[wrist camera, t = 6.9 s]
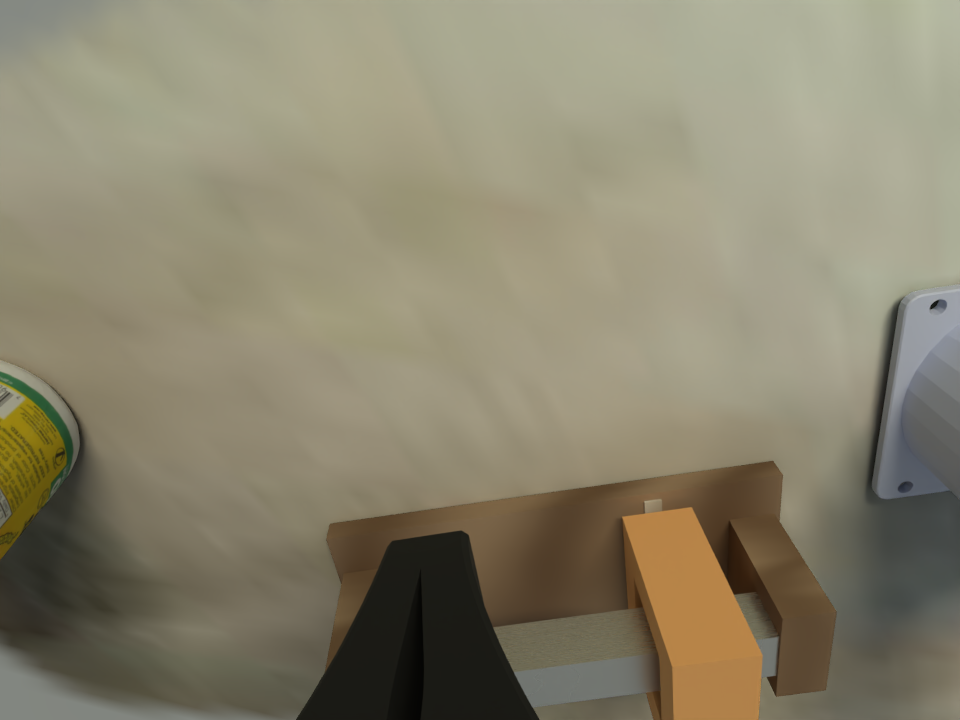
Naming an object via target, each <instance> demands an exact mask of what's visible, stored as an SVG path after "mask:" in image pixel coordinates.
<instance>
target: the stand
mask: <svg viewBox="0 0 960 720" xmlns="http://www.w3.org/2000/svg"><path fill="white" fill-rule="evenodd" d="M782 480H783V474H782V473H781V472H780V470H779V469H778V467H777V466H776V464H775V463H774V462H773V461H770V462H763V463H756V464H749V465H742V466H735V467H728V468H721V469H714V470H707V471H700V472H692V473H685V474H678V475H671V476H664V477H657V478H650V479H643V480H636V481H629V482H622V483H615V484H608V485H601V486H594V487H587V488H580V489H573V490H565V491H558V492H551V493H544V494H537V495H530V496H523V497H516V498H509V499H502V500H495V501H488V502H481V503H474V504H467V505H460V506H453V507H446V508H438V509H431V510H424V511H417V512H410V513H403V514H396V515H389V516H382V517H375V518H368V519H361V520H354V521H347V522H340V523H333V524H330V526H329V530H328V534H327V539H326V540H327V543H328V546H329V549H330V552H331V555H332V558H333V560H334V563H335V566H336V569H337V572H338V575H339V578H340V581H341V584H342V585H341V590H340V595H339V600H338V606H337V611H336V616H335V621H334V627H333V632H332V637H331V642H330V648H329V653H328V658H327V664H326V669H325V672H326V670H327V668H328V666H329V665H330V663H331V661H332V660H333V658H334V656H335V654H336V653H337V651H338V649H339V647H340V645H341V644H342V642H343V640H344V638H345V636H346V634H347V632H348V630H349V628H350V626H351V624H352V622H353V620H354V618H355V617H356V615H357V613H358V611H359V609H360V607H361V605H362V603H363V600H364V598H365V596H366V594H367V592H368V590H369V588H370V586H371V583H372V581H373V579H374V577H375V575H376V572H377V570H378V568H379V565H380V563H381V561H382V558H383V556H384V553H385V551H386V549H387V546H388V545H389V544H390V543H391V542H392V541H394V540H401V539H407V538H414V537H420V536H427V535H434V534H440V533H447V532H453V531H460V530H462V531H463V532H465V533H467V534H468V535H469V538H470V543H471V547H472V552H473V556H474V561H475V565H476V570H477V574H478V579H479V583H480V588H481V592H482V597H483V601H484V606H485V608H486V611H487V613H488V616H489V618H490V621H491V623H492V626H493V627H500V626H507V625H515V624H522V623H529V622H537V621H544V620H552V619H559V618H566V617H574V616H581V615H589V614H596V613H604V612H611V611H618V610H626V609H628V598H627V582H626V567H625V552H624V537H623V521H622V517H624V516H632V515H639V514H646V513H653V512H660V511H667V510H674V509H682V508H689V507H692V509H693V511H694V513H695V515H696V517H697V519H698V521H699V523H700V525H701V527H702V529H703V532H704V534H705V536H706V538H707V540H708V542H709V544H710V546H711V548H712V550H713V552H714V555H715V557H716V559H717V561H718V563H719V565H720V567H721V569H722V571H723V573H724V575H725V577H726V580H727V582H728V584H729V586H730V588H731V590H732V592H733V594H734V595H737V594H744V593H752V592H756V593H757V594H758V596H759V598H760V600H761V602H762V604H763V606H764V608H765V610H766V612H767V614H768V616H769V618H770V620H771V621H772V623H773V625H774V627H775V629H776V631H777V633H778V635H779V649H778V661H777V673H776V676H770V677H767V678H768V681H769V683H770V685H771V687H772V689H773V691H774V693H775V695H776V697H777V696H785V695H793V694H800V693H808V692H816V691H824V690H826V686H827V678H828V671H829V664H830V657H831V649H832V642H833V635H834V627H835V620H836V613H837V612H836V610H835V608H834V607H833V605H832V604H831V602H830V601H829V599H828V597H827V596H826V594H825V593H824V591H823V590H822V588H821V586H820V585H819V583H818V582H817V580H816V579H815V577H814V575H813V574H812V572H811V571H810V569H809V568H808V566H807V564H806V563H805V561H804V560H803V558H802V556H801V555H800V553H799V552H798V550H797V549H796V547H795V545H794V544H793V542H792V541H791V539H790V538H789V536H788V534H787V533H786V531H785V530H784V528H783V527H782V525H781V523H780V522H779V520H780V507H781V493H782Z"/></svg>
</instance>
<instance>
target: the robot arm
mask: <svg viewBox="0 0 960 720" xmlns="http://www.w3.org/2000/svg"><path fill="white" fill-rule="evenodd" d="M936 300H939V302H938V304H937V306H935V307H934V308H933V309H929V308H930V306H931V304H932V303H933V302H935V301H936ZM903 482H905V483H903ZM901 483H903V484H902V485H900V484H901ZM899 485H900V486H899ZM872 490H873V491H874V492H875V493H876V494H877V495H878V497H879V498H882V499H894V498H901V497H908V496H915V495H923V494H930V493H937V492H944V491H951V492H952V493H953V494H954V495H955V496H956V497H957V498H958V499H959V500H960V284H957V285H950V286H944V287H937V288H930V289H924V290H917V291H914V292H911V293H909V294H908V295H907V296H905V297H904V299H903V300H902V301H901V303H900V305H899V309H898V316H897V322H896V329H895V335H894V342H893V348H892V355H891V361H890V368H889V374H888V381H887V388H886V394H885V401H884V407H883V414H882V420H881V427H880V433H879V440H878V447H877V453H876V460H875V466H874V473H873V479H872ZM296 720H539V718H538V716H537V714H536V713H535V711H534V709H533V707H532V706H531V704H530V702H529V700H528V698H527V697H526V695H525V693H524V691H523V689H522V687H521V685H520V683H519V682H518V680H517V678H516V676H515V674H514V672H513V670H512V668H511V666H510V663H509V661H508V659H507V657H506V655H505V653H504V651H503V649H502V647H501V645H500V642H499V640H498V638H497V635H496V633H495V631H494V628H493V626H492V623H491V621H490V618H489V616H488V613H487V611H486V608H485V606H484V601H483V597H482V592H481V588H480V583H479V579H478V574H477V570H476V565H475V561H474V556H473V552H472V547H471V543H470V538H469V535H468V534H467V533H465V532H463V531H462V530H460V531H453V532H447V533H440V534H434V535H427V536H420V537H414V538H407V539H401V540H394V541H392V542H391V543H390V544H389V545H388V546H387V549H386V551H385V553H384V556H383V558H382V561H381V563H380V565H379V568H378V570H377V572H376V575H375V577H374V579H373V581H372V583H371V586H370V588H369V590H368V592H367V594H366V596H365V598H364V600H363V603H362V605H361V607H360V609H359V611H358V613H357V615H356V617H355V618H354V620H353V622H352V624H351V626H350V628H349V630H348V632H347V634H346V636H345V638H344V640H343V642H342V644H341V645H340V647H339V649H338V651H337V653H336V654H335V656H334V658H333V660H332V661H331V663H330V665H329V666H328V668H327V670H326V672H325V673H324V675H323V677H322V678H321V680H320V682H319V684H318V685H317V687H316V689H315V690H314V692H313V694H312V695H311V697H310V699H309V700H308V702H307V703H306V705H305V707H304V708H303V710H302V711H301V713H300V714H299V716H298V717H297V719H296Z"/></svg>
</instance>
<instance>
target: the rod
mask: <svg viewBox="0 0 960 720" xmlns="http://www.w3.org/2000/svg"><path fill="white" fill-rule="evenodd" d="M734 596H735V598H736V600H737V603H738V605H739V607H740V609H741V611H742V613H743V615H744V617H745V619H746V621H747V623H748V626H749V628H750V630H751V632H752V634H753V636H754V638H755V640H756V642H757V644H758V646H759V649H760V651H761V653H762V655H763V659H762V674H761V678H762V677H770V676H776V673H777V661H778V649H779V635H778V633H777V631H776V629H775V627H774V625H773V623H772V621H771V620H770V618H769V616H768V614H767V612H766V610H765V608H764V606H763V604H762V602H761V600H760V598H759V596H758V594H757V593H756V592H752V593H744V594H737V595H734ZM493 628H494V631H495V633H496V635H497V638H498V640H499V642H500V645H501V647H502V649H503V651H504V653H505V655H506V657H507V659H508V661H509V663H510V666H511V668H512V670H513V672H514V674H515V676H516V678H517V680H518V682H519V683H520V685H521V687H522V689H523V691H524V693H525V695H526V697H527V698H528V700H529V702H530V704H531V706H532V707H540V706H547V705H555V704H563V703H570V702H578V701H586V700H593V699H601V698H609V697H616V696H624V695H632V694H639V693H647V692H655V691H661V687H660V660H659V655H658V652H657V649H656V645H655V642H654V639H653V636H652V633H651V630H650V627H649V623H648V620H647V617H646V614H645V611H644V608H643V607H641V608H633V609H626V610H618V611H611V612H604V613H596V614H589V615H581V616H574V617H566V618H559V619H552V620H544V621H537V622H529V623H522V624H515V625H507V626H500V627H493Z"/></svg>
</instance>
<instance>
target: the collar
mask: <svg viewBox="0 0 960 720" xmlns="http://www.w3.org/2000/svg"><path fill="white" fill-rule="evenodd" d="M622 521H623V537H624V552H625V567H626V582H627V598H628V609H633V608H641V607H643V608H644V611H645V614H646V617H647V620H648V623H649V627H650V630H651V633H652V636H653V639H654V642H655V645H656V649H657V652H658V655H659V660H660V687H661V691H655V692H647V693H646V694H647V698H648V701H649V705H650V709H651V712H652V716H653V719H654V720H758V718H759V703H760V689H761V674H762V659H763V655H762V653H761V651H760V649H759V646H758V644H757V642H756V640H755V638H754V636H753V634H752V632H751V630H750V628H749V626H748V623H747V621H746V619H745V617H744V615H743V613H742V611H741V609H740V607H739V605H738V603H737V600H736V598H735V596H734V594H733V592H732V590H731V588H730V586H729V584H728V582H727V580H726V577H725V575H724V573H723V571H722V569H721V567H720V565H719V563H718V561H717V559H716V557H715V555H714V552H713V550H712V548H711V546H710V544H709V542H708V540H707V538H706V536H705V534H704V532H703V529H702V527H701V525H700V523H699V521H698V519H697V517H696V515H695V513H694V511H693V509H692V507H689V508H682V509H674V510H667V511H660V512H653V513H646V514H639V515H632V516H624V517H622Z"/></svg>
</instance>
